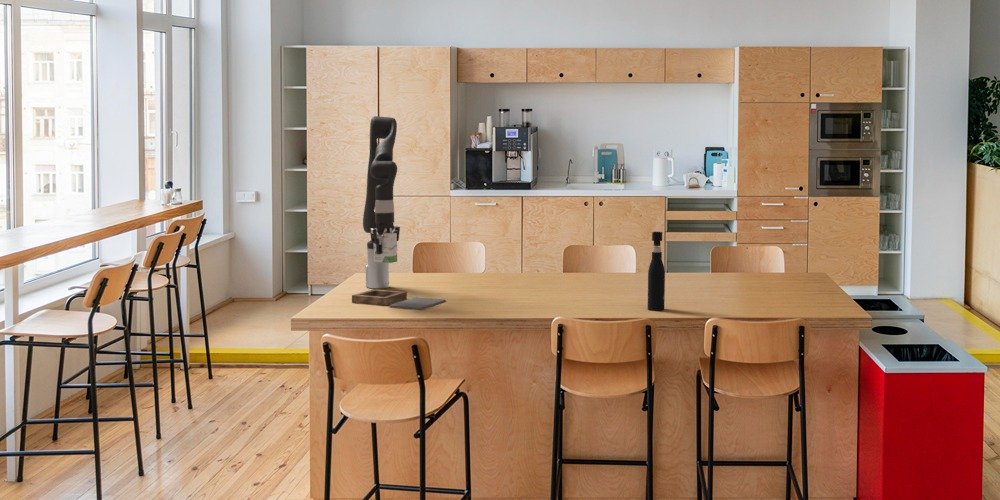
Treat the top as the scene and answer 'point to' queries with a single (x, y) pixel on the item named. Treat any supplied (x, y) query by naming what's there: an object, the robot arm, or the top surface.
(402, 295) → the frame
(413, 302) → the rubber mat
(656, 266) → the wine bottle
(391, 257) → the ink box
